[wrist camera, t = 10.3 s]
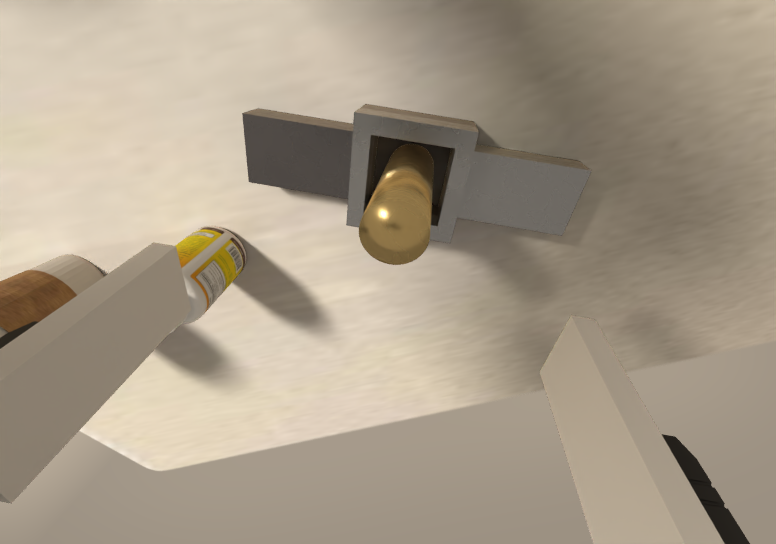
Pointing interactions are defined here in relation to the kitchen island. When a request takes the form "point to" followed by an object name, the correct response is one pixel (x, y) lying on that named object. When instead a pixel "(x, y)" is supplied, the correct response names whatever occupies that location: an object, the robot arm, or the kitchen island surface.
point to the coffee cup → (43, 290)
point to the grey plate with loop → (466, 160)
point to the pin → (400, 208)
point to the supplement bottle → (208, 267)
